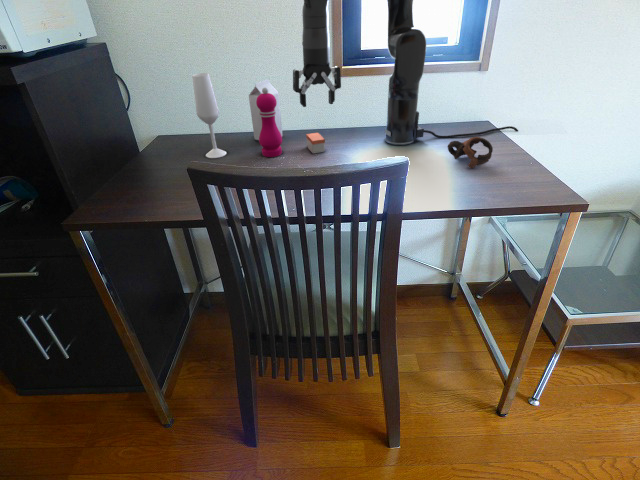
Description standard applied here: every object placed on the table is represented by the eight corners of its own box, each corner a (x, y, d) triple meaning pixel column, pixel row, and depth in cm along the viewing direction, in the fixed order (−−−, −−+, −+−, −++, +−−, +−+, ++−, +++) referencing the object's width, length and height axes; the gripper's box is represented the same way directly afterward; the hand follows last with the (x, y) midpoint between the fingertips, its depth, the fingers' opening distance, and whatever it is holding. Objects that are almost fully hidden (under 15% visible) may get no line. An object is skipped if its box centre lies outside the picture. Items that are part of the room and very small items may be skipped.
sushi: (318, 144, 128) (317, 132, 126) (325, 152, 122) (324, 139, 120) (306, 146, 127) (306, 134, 125) (313, 153, 121) (312, 140, 119)
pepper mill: (279, 158, 119) (272, 90, 108) (257, 157, 121) (248, 90, 110) (286, 149, 125) (280, 85, 114) (265, 149, 126) (257, 85, 115)
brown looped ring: (482, 157, 115) (496, 138, 108) (480, 181, 111) (494, 163, 103) (443, 145, 115) (455, 126, 108) (439, 169, 111) (451, 151, 104)
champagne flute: (230, 153, 124) (217, 73, 111) (213, 159, 120) (196, 77, 107) (218, 148, 128) (204, 71, 115) (201, 154, 124) (184, 75, 111)
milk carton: (282, 136, 136) (277, 79, 126) (270, 143, 131) (263, 84, 121) (267, 134, 139) (260, 78, 129) (254, 140, 134) (246, 82, 124)
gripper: (295, 49, 103) (298, 110, 112) (344, 45, 107) (344, 105, 116) (288, 45, 109) (291, 104, 118) (335, 42, 113) (335, 99, 122)
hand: (317, 105), depth 117 cm, fingers open, 8 cm apart
